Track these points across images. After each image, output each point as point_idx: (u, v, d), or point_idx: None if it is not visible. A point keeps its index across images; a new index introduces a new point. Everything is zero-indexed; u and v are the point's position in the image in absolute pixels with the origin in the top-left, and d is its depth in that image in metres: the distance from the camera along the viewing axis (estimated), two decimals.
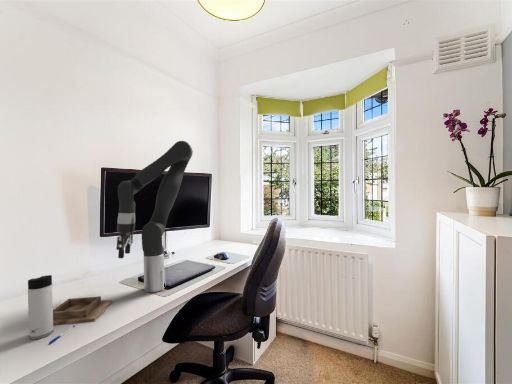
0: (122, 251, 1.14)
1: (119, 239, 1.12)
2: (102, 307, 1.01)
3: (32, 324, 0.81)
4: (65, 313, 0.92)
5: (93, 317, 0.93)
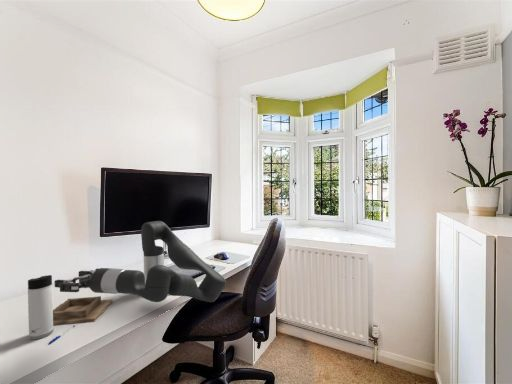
0: None
1: (73, 287, 0.73)
2: (102, 307, 1.01)
3: (32, 324, 0.81)
4: (65, 313, 0.92)
5: (93, 317, 0.93)
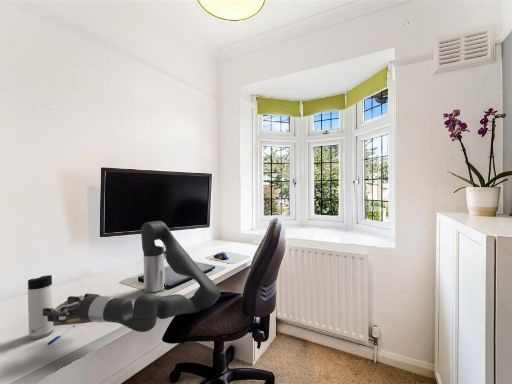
0: None
1: (60, 317, 0.74)
2: None
3: (32, 324, 0.81)
4: None
5: None
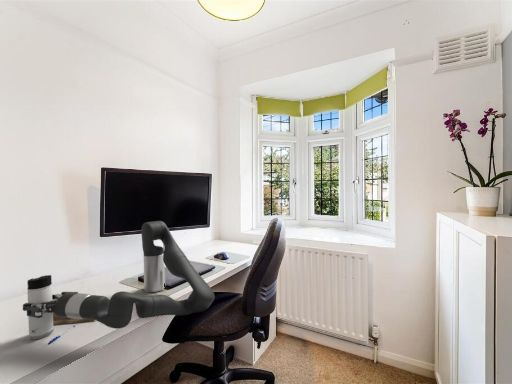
0: None
1: (36, 313, 0.76)
2: None
3: (32, 324, 0.81)
4: None
5: None
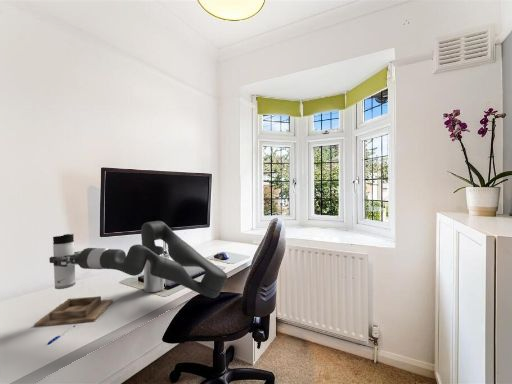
0: None
1: (62, 262, 0.86)
2: (102, 307, 1.01)
3: (57, 275, 0.90)
4: (65, 313, 0.92)
5: (93, 317, 0.93)
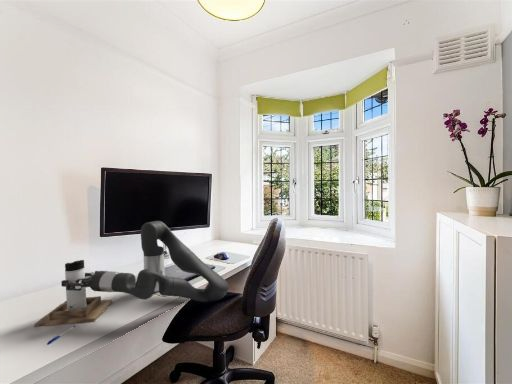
0: None
1: (76, 286, 0.90)
2: (102, 307, 1.01)
3: (70, 300, 0.95)
4: (65, 313, 0.92)
5: (93, 317, 0.93)
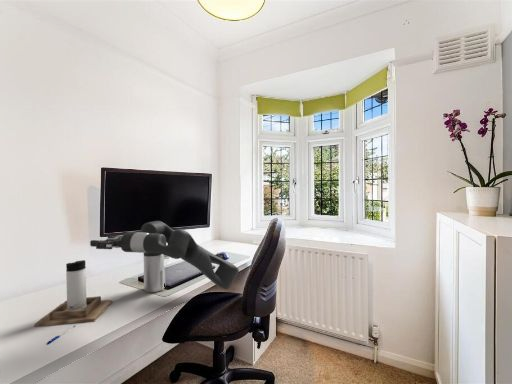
0: None
1: (107, 245, 0.87)
2: (102, 307, 1.01)
3: (70, 301, 0.95)
4: (65, 313, 0.92)
5: (93, 317, 0.93)
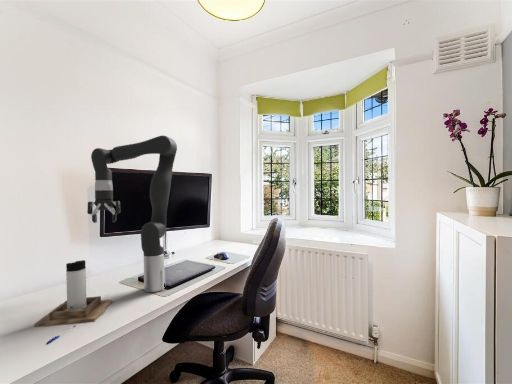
0: (92, 216, 1.20)
1: None
2: (102, 307, 1.01)
3: (70, 301, 0.95)
4: (65, 313, 0.92)
5: (93, 317, 0.93)
